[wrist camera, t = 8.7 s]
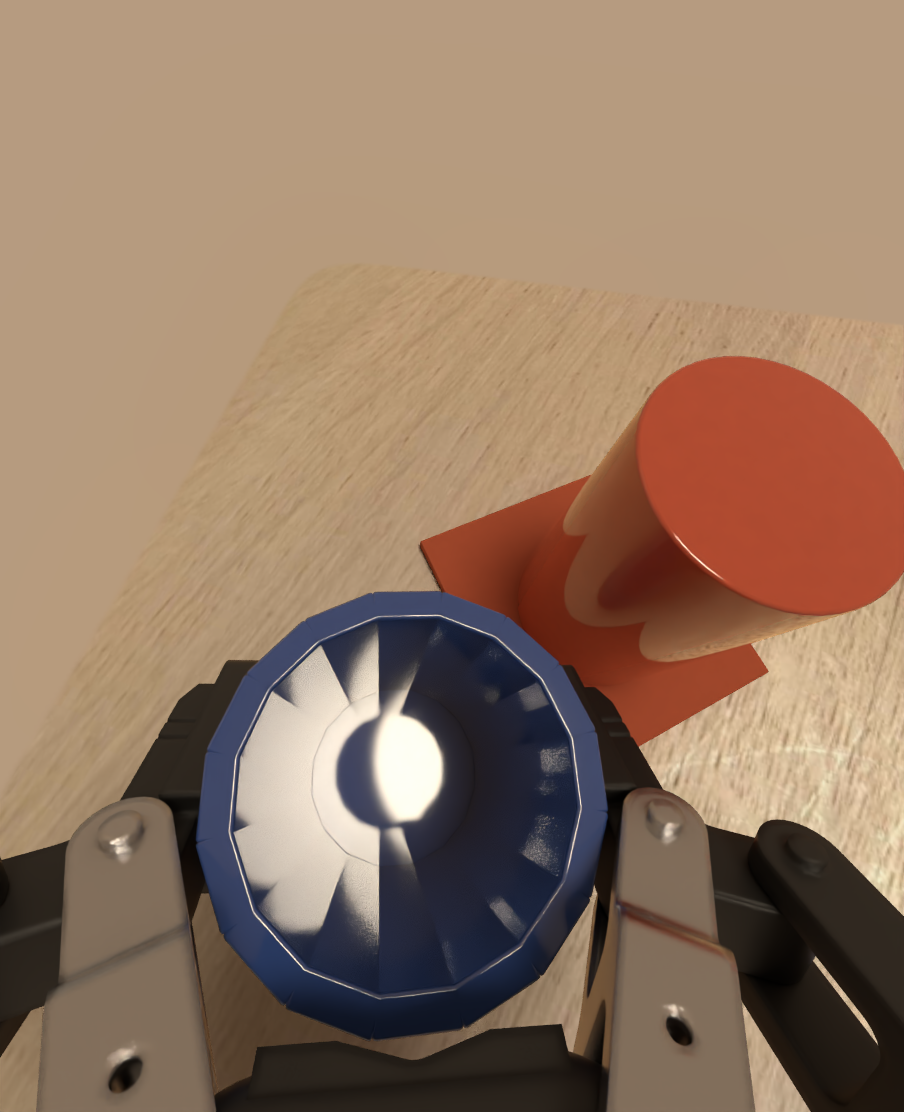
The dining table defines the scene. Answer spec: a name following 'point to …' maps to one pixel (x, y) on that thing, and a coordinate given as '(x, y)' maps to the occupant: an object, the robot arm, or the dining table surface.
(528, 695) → the blue cup
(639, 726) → the red mat
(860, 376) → the dining table surface
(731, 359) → the tall red cylinder
